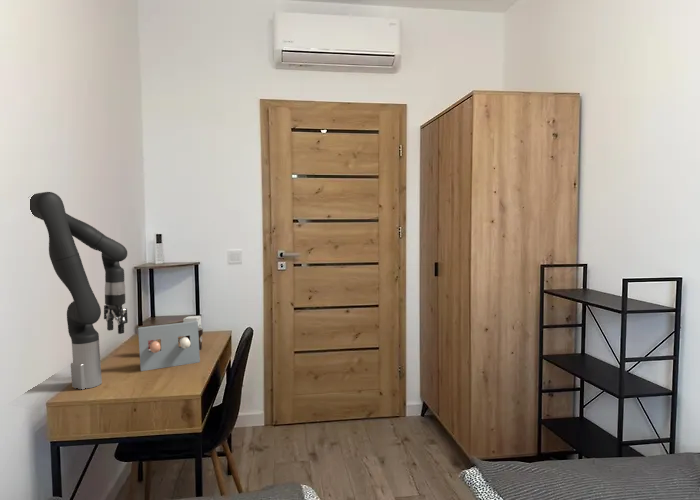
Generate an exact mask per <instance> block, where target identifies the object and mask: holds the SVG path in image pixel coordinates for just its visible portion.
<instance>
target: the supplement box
mask: <svg viewBox="0 0 700 500" xmlns="http://www.w3.org/2000/svg"><path fill="white" fill-rule="evenodd" d="M182 321H183V322H191V321H197V322H198V328H202V316H201V315H195V316H194V315H192V316H191V315H189V316H186V317H184V318H183V319H182ZM183 322H182V323H183ZM183 337H185V336H183Z"/></svg>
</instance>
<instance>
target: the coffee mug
mask: <svg viewBox="0 0 700 500" xmlns="http://www.w3.org/2000/svg"><path fill="white" fill-rule="evenodd" d="M203 329H204V328H203V327H201V328H198V335H199V351H201V350H202V348H203V346H202V345H203V332H204V330H203ZM185 337H187V338H188V339H189V341H190V337H189V336H185Z"/></svg>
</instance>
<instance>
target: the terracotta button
mask: <svg viewBox="0 0 700 500" xmlns="http://www.w3.org/2000/svg"><path fill="white" fill-rule="evenodd" d="M160 349H161V343H160V341H158V340H157V341H156V340H154V341H152V342H151V343H150V350H151V351H152V352H153V353H157V352H158V351H159V350H160Z"/></svg>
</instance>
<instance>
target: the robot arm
mask: <svg viewBox="0 0 700 500" xmlns="http://www.w3.org/2000/svg"><path fill="white" fill-rule="evenodd" d="M32 195H33V194H32ZM30 210H31V212H32V214H33V215H34V216H33V215H32V216H33V217H35V218H37V219H39V220H42V221H43V222H44V225H45V227H46V230H47V233H48V255H49V259H50V262H51V264H52V267H53V270H54V271H55V274H56V275H57V276H58V278H59V280H60V281H61V282H62V284H63V285H64V286H65V287H66V288H67V289H68V291H69V294H70V295H71V297H72V300H73V301H71V303H69V305H68V307H67V309H66V310H67V311H66V321H67V329H68V330H67V331H68V335H69V337H70V339H71V340H70V341H71V354H72V362H71V363H70V373H71V374H70V375H71V388H72V387H74V388H73V389H76V388H78V389H77V390H81V389H82V390H84V389H85V388H86V389H92V388H96V387H98V386H100V385H102V384H103V380H102V379H103V377H102V367H101V366H102V365H101V362H102V361H101V351H100V350H101V349H100V334H99V332H98V331H97V330H96V329H95V328H94V325H93V324H95V323H97V322H98V321H99V320H100V319H101V318H100V317H101V314H102V308H101V306H100V303H99V301H98V299H97V297H96V296H95V293H94V291H93V288H92V287H91V284H90V282H89V279H88V276H87V273H86V271H85V268H84V264H83V262H82V259H81V256H80V252H79V250H78V248H77V246H76V242H75V240H74V238H75V239H77V240H79V241H80V242H81V243H82V244H84V245H86V246H87V247H89V248H90V249H92V250H94V251H98V252H101V260H102V264H103V268H104V273H105V275H104V278H105V282H104V304H105V305H103V320H105V321H106V325H107V326H106V328H107V331H113V330H114V320H115V321H116V322H117V334H118V335H121V334H124V333H125V325H126V324H127V323H128V322H129V321H128V308H123V305H125V304H126V284H125V270H124V269H125V268H123V267H122V266H121V265H120V262H124V260H126V258H127V257H128V250H127V248H126V247H125V246H124V245H123V244H122V243H120V242H119V241H116V240H115V239H112V238H111V237H109V236H107V235H105V234H104V233H103V232H101V231H100V230H99V229H97V228H95V227H94V226H93V225H90V224H89V223H87V222H84V221H82V220H81V219H78V218H76V217H74V216H72V215H70V214H68V213H67V212H66V209H65V205H64V202H63V199H62V198H61V197H60V196H59V195H58V194H57V193H55V192H52V191H44V192H36V193H34V195H33V196H32V197H31V199H30ZM86 389H85V390H86Z"/></svg>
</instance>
